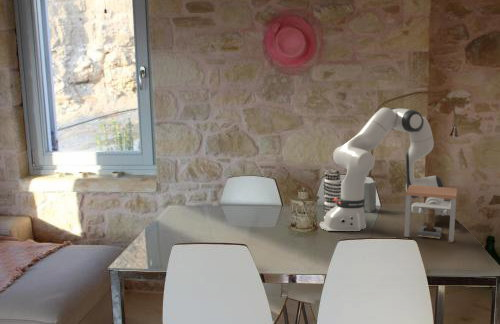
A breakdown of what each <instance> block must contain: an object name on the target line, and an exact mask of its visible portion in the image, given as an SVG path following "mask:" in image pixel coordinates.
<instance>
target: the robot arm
mask: <svg viewBox="0 0 500 324" xmlns="http://www.w3.org/2000/svg"><path fill="white" fill-rule="evenodd" d="M391 130H395V131H398V132H407V133H408V136H409V138H408V139H409V141H410V142H409V143H410V146H409V148H408V149H407V150H406V153H405V175H406V176H405V181H406V183H405V192H406V191H407V189H408V187H409V185H417V186H431V187H445V184H444V181H443V179H442V178H441V177H440V176H438V175H430V176H424V177H420V178H416V177H415V164H416V162H417V161H419V160H420V159H422V158H423V157H425V156H427V155H429V154H430V153H431V152H432V150H433V149H434V145H435V144H434V142H435V141H434V136H433V132H432V128H431V125H430V123H429V121H428V119H427V118H426V117H425V116H422V114H421V113H420V112H419V111H417V110H415V109H410V108H404V107H403V108H402V107H400V108H399V107H393V108H390V107H381V108H379V110H377V111H376V112H375V113H374V114H373V115H372V116H371V117H370V118H369V120H368V121H367V122H366V123H365V124H364V126H363V127H362V128H361V129H360V131H359V132H358V133H357V134H356V135H354V136H353V137H352V138H351V139H350V140H348V141H347V142H346V143H344V144H342V145H339V146H338V147H336V148H335V149H334V151H333V153H332V154H333V155H332V158H333V161H334V163H336V164H337V165H338V166H339V167H341V168H344V169H346V175H345V177H344V179H342V180H341V181H342V182H341V183H340V184H341V186H340V188H341V190H340V191H341V193H340V195H341V196H340V198H339V199H337V198H335V199H334V201H335V202H337V205H336V206H335V207H334V208H332V209H331V210H330V211H328V212H327V213H326V215H325V218H323V221H320V222H319V227H320V229H322V230H323V229H324V230H323V231H325V230H326V232H328V231H360V230H361V229H363V230H365V229H366V228H367V227H366V226H367V223H366V219H365V218H366V217H365V211H364V208H365V199H364V185H365V181H367V180H366V179H367V176H368V175H369V173H370V172H371V170H373V168H374V166H375V162H376V161H375V157H374V156H373V154H372V153H370V151H372V150H375V149H377V148H378V147H379V146H380V145H381V143H382V142H383V141H384V139H385V138H386V136H387V135H388V134H389V132H390V131H391ZM421 197H422V196H411V199H417V198H421ZM427 209H434V210H435V216H439V215H440V216H442V217H445V216H450V212H451V200H449V199H448V200H447V199H445V198H434V197H426V199H425V202H418V201H417V202H414V203H411V209H410V212H411V213H416V214H417V213H418V214H420V215H424V214H426V215H427ZM364 228H365V229H364ZM361 231H362V230H361ZM361 231H360V232H361Z"/></svg>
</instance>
